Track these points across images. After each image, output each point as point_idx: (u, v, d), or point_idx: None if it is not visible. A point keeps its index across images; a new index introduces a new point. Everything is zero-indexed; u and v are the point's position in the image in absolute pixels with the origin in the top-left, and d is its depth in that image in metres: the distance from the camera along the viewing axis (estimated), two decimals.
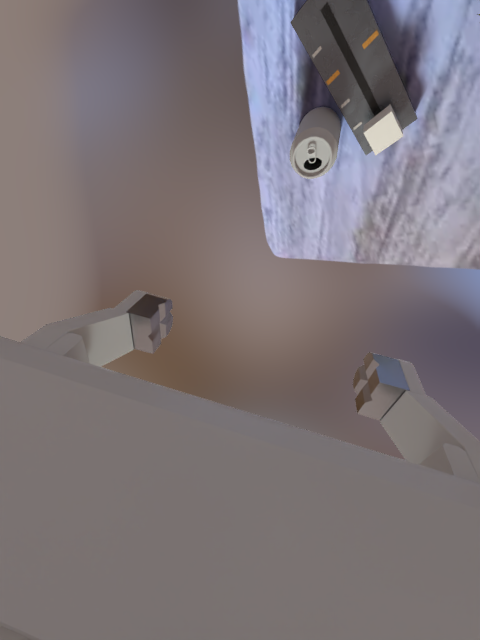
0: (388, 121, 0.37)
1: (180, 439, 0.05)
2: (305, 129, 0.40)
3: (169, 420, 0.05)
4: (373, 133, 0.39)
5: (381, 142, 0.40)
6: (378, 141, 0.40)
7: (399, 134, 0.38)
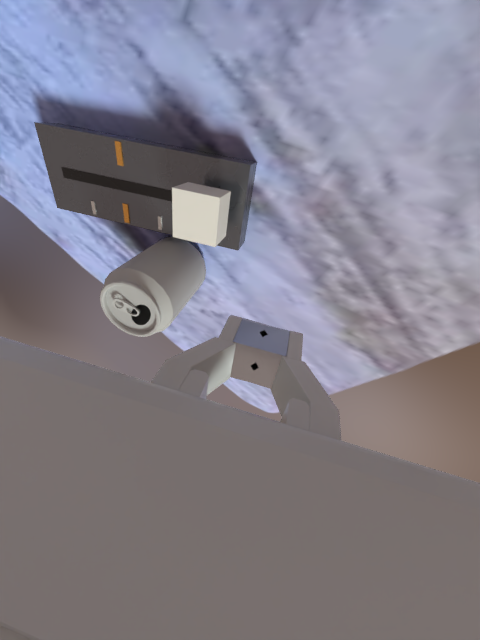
0: (182, 200, 0.21)
1: (180, 439, 0.05)
2: (105, 284, 0.26)
3: (169, 420, 0.05)
4: (183, 227, 0.22)
5: (203, 227, 0.22)
6: (199, 229, 0.22)
7: (213, 200, 0.20)
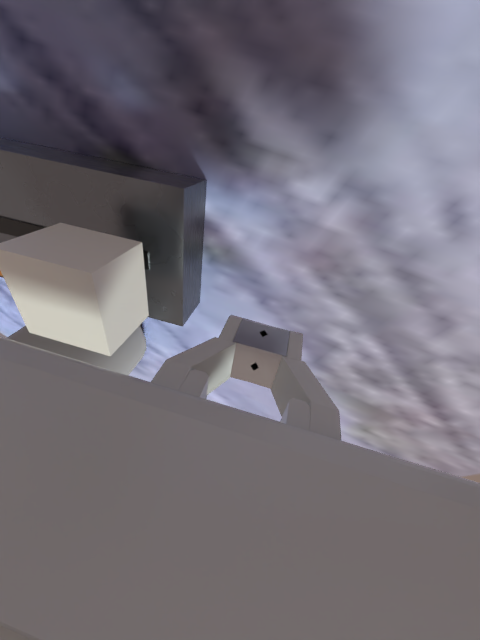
0: (19, 272, 0.09)
1: (180, 439, 0.05)
2: None
3: (169, 420, 0.05)
4: (40, 319, 0.11)
5: (77, 323, 0.10)
6: (71, 326, 0.11)
7: (79, 277, 0.09)
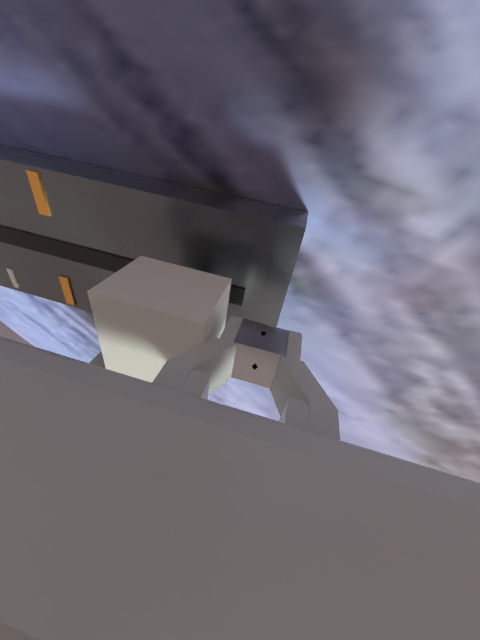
0: (115, 317, 0.09)
1: (180, 439, 0.05)
2: None
3: (169, 420, 0.05)
4: (125, 362, 0.10)
5: None
6: None
7: (187, 327, 0.08)
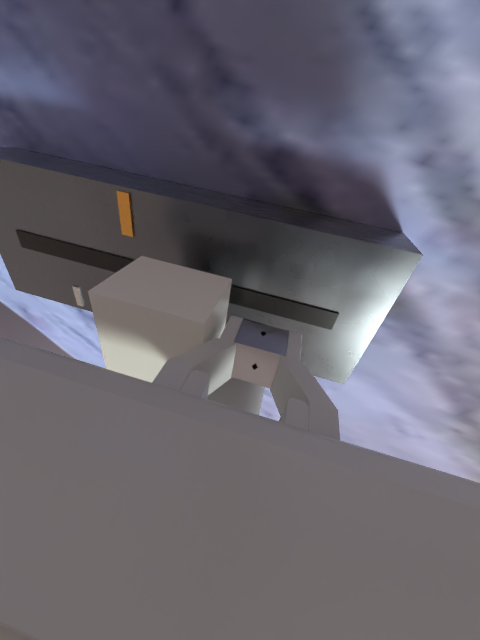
0: (116, 317, 0.09)
1: (180, 439, 0.05)
2: None
3: (169, 420, 0.05)
4: (125, 362, 0.10)
5: None
6: None
7: (187, 327, 0.08)
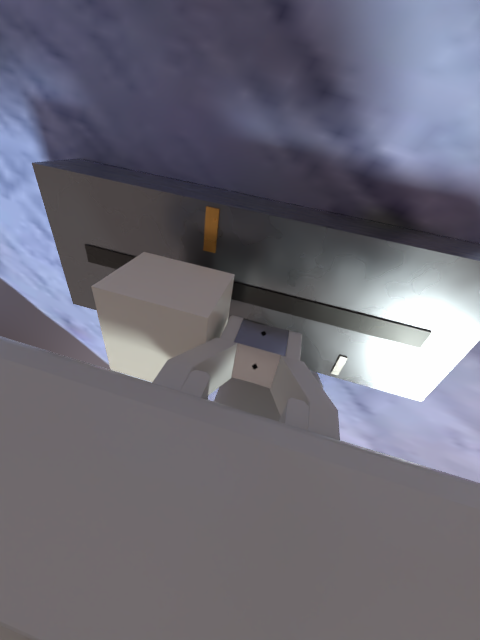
0: (119, 312, 0.09)
1: (180, 439, 0.05)
2: None
3: (169, 420, 0.05)
4: (129, 358, 0.10)
5: None
6: None
7: (191, 321, 0.08)
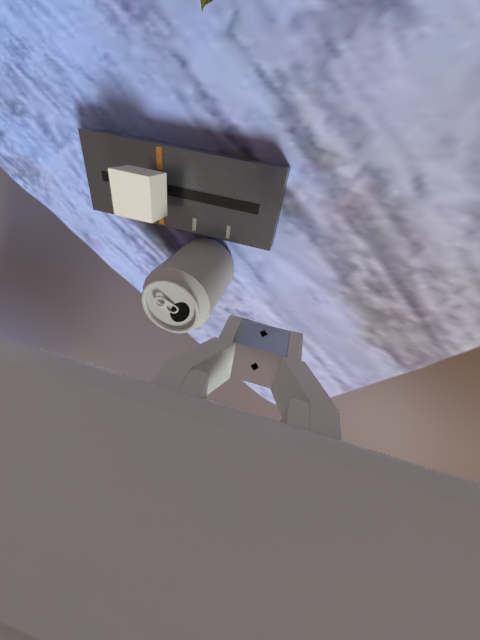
0: (118, 179, 0.23)
1: (180, 439, 0.05)
2: (145, 283, 0.27)
3: (169, 420, 0.05)
4: (122, 205, 0.24)
5: (139, 205, 0.24)
6: (136, 207, 0.24)
7: (144, 179, 0.23)
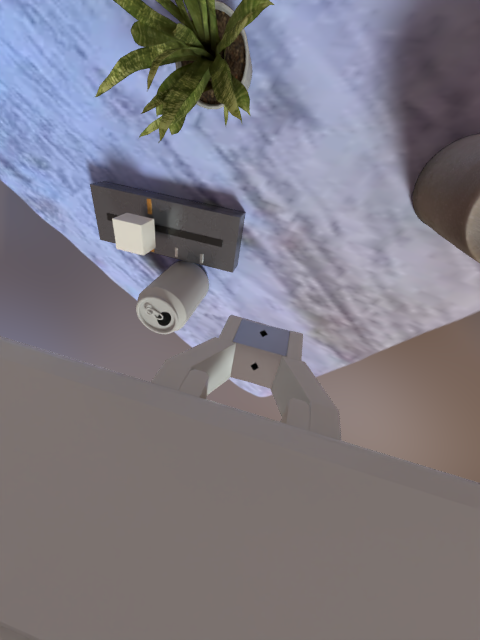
0: (119, 226, 0.33)
1: (180, 439, 0.05)
2: None
3: (169, 420, 0.05)
4: (122, 242, 0.34)
5: (134, 243, 0.34)
6: (132, 244, 0.34)
7: (137, 227, 0.32)
